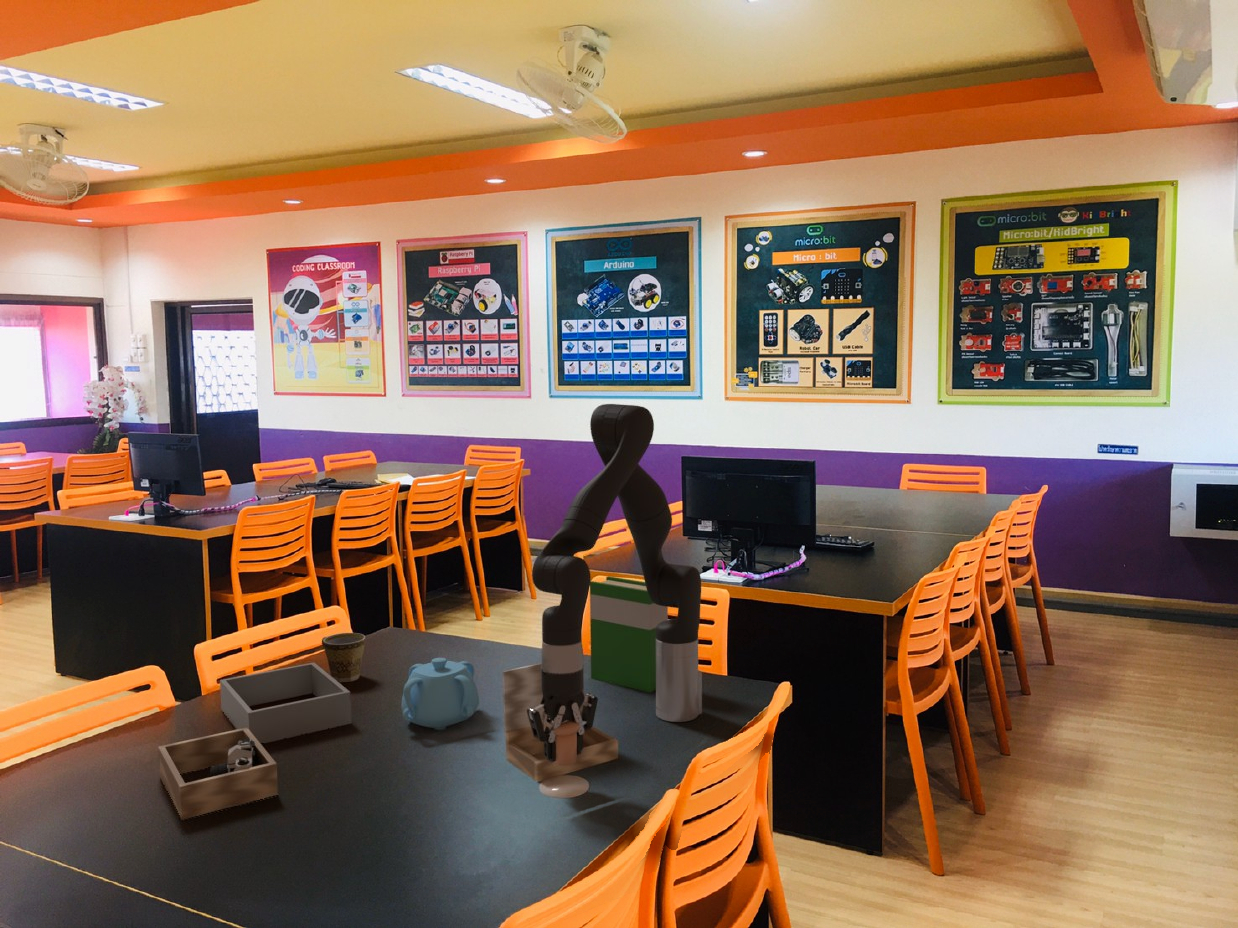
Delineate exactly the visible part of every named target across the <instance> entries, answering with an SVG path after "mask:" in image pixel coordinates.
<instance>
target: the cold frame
mask: <svg viewBox="0 0 1238 928" xmlns="http://www.w3.org/2000/svg"><path fill="white" fill-rule="evenodd" d="M584 661H585V660H584V658H583V675H584V674H585V671H584V669H585V668H584V666H585V664H584ZM584 676H585V675H584ZM502 686H503V687H502V692H503V693H502V697H503V732H504V733H505V753H506V755H505V757H506V761H507V762H508V763H509V764H511V765H512V766H514V767H515V768H517V769H518V770H520V771H521V772H522V773H524V774H525V775H527V776H528V778H531V779H532V780H533V781H535V782H537V783H541V782H543V781H544V780H546V779H548V778H551V777H554V776H560V775H566V774H567V775H568V774H570V773H573V772H576V771H579V770H583V769H587V768H590V767H593V766H596V765H601V764H604V763H606V762H610V761H613V760H616V759H619V740H617V739H616V738H614V737H612V736H611V735H609V734H607V733H606V732H603V731H602V730H600V729H598V728H596V727H594V726H592V728H591V729H587V730H585V731H584V733H583V750H582V751H581V754H579V755H577V761H576V762H575V763H574V764H571V765H566V766H560V765H555V764H553V763H551V762H550V761H548V760H547V758H545V756H544V742H541V741H540V740H538V739H537V738H535V737H534V736H533V733H532V729H531V725H530V722H529V718H528V714H527V709H528V708H529V707H531V708H535V707H537V706H539V705H540V704H541V701H542V698H543V693H542V677H541V662H538V663H535V664H531V665H530V664H529V665H525V666H520V667H516V668H511V669H506V670H503V671H502ZM582 691H583V694H584V695H585V687H584V688H583V690H582ZM582 710H583V704H582V706H581V707H580V709H579V712H580V715H582ZM542 716H543V718H542V719H541V721H542V725H543V728H544V720H545V716H546V713H545V712H544V711H543V713H542Z"/></svg>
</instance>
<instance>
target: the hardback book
mask: <svg viewBox="0 0 1238 928" xmlns="http://www.w3.org/2000/svg"><path fill="white" fill-rule="evenodd" d="M668 608H669V607H666V606H660V605H657V604H655V603H653V602H652V600H651V599H650V597H649V595H648V592H647V588H646V584H645V581H640V580H634V579H627V578H622V577H621V578H620V577H614V576H609V575H608V576H606V577H605V580H604V581H601V582H599V581H591V580H590V586H589V610H590V611H589V614H590V615H589V617H590V618H589V619H590V622H589V623H590V624H589V625H590V628H589V629H590V679H593V680H596V681H601V682H604V681H606V682H605V683H608V682H611V683H610V684H613V683H614V684H613V685H618V686H622V687H625V688H629V687H631V688H630V689H633V688H634V689H633V690H637V689H639V690H638V691H641V690H642V692H645V691H646V692H645V693H649V692H651V693H653V692H655V691H656V626H657V625H658V624H659V623H661V622H663V621H666V620H669V617H668V615H669V611H668V610H669V609H668ZM654 690H655V691H654ZM652 691H653V692H652Z"/></svg>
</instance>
